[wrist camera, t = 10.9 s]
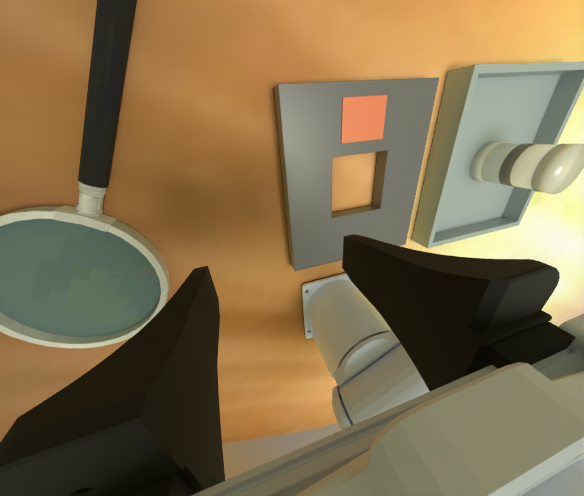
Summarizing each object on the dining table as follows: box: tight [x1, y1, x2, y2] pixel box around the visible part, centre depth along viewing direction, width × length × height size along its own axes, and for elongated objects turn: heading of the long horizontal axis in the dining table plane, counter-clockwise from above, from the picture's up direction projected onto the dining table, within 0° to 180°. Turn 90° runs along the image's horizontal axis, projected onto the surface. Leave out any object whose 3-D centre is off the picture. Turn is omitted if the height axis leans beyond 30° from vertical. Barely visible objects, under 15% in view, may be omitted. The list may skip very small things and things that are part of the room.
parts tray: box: [412, 62, 584, 248], centre depth 24 cm, size 17×15×2 cm
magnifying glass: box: [0, 0, 170, 348], centre depth 16 cm, size 13×31×2 cm, turn 155°
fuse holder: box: [274, 78, 439, 271], centre depth 21 cm, size 16×14×2 cm
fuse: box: [470, 142, 584, 194], centre depth 22 cm, size 4×4×7 cm
